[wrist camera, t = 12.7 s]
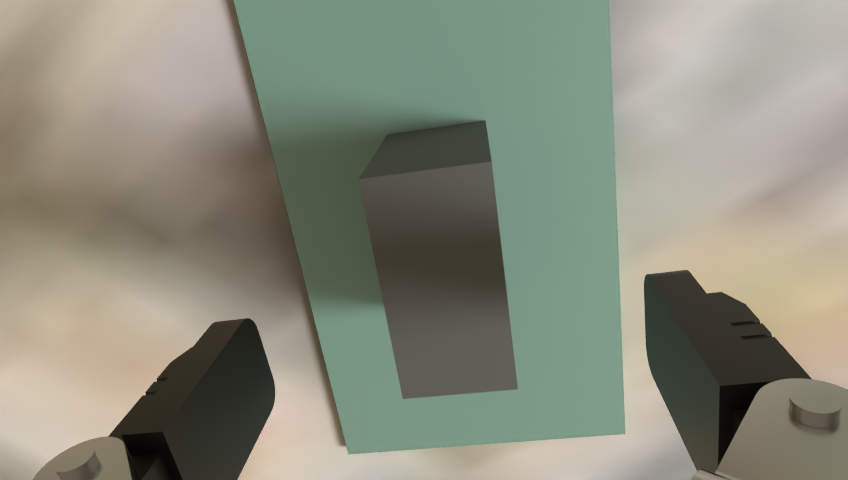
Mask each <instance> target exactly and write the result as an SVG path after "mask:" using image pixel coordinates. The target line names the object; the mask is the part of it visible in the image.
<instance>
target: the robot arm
mask: <svg viewBox="0 0 848 480" xmlns="http://www.w3.org/2000/svg"><path fill="white" fill-rule="evenodd" d="M644 300H645V330H646V350H647V357H648V362H649V366H650V370H651V373H652V376H653V378H654V380H655V382H656V385H657V387H658V389H659V391H660V393H661V395H662V397H663V399H664V402H665V404H666V406H667V408H668V410H669V412H670V414H671V416H672V419H673V421H674V423H675V425H676V427H677V429H678V431H679V433H680V436H681V438H682V440H683V442H684V444H685V446H686V448H687V450H688V453H689V455H690V457H691V459H692V461H693V463H694V465H695V467H696V470H697V472H696V473H695V474H694V476H693V477H692V479H691V480H848V390H847V389H845V388H842V387H840V386H837V385H834V384H831V383H827V382H823V381H818V380H812V379H811V378H810V376H809V375H808V374H807V373H806V372H805V371H804V370H803V369H802V367H801V366H800V365H799V364H798V363H797V362H796V361H795V360H794V358H793V357H792V356H791V355H790V354H789V353H788V352H787V351H786V349H785V348H784V347H783V346H782V345H781V344H780V343H779V342H778V340H777V339H776V338H775V337H772V335H771V333H770V331H769V330H768V329H767V328H766V327H765V326H764V325H763V324H760V320H759V319H758V318H757V317H756V316H755V315H754V313H753V312H752V311H751V310H750V309H749V308H748V307H747V306H746V304H744V303H742V302H740V301H738V300H736V299H734V298H732V297H730V296H728V295H726V294H724V293H722V292H717V293H708V294H707V293H706V292H705V291H704V290H703V288H702V287H701V286H700V285H699V283H698V282H697V281H696V279H695V278H694V277H693V276H692V274H691V273H690V272H689V271H688V270H682V271H674V272H665V273H656V274H647V275H646V276H645V280H644ZM274 400H275V385H274V380H273V376H272V373H271V370H270V367H269V364H268V360H267V357H266V354H265V351H264V348H263V345H262V341H261V338H260V335H259V332H258V329H257V326H256V324H255V323H254V321H253V320H251V319H249V318H247V319H238V320H229V321H220V322H214V323H213V324H212V325H211V326H210V327H209V328H208V329H207V330H206V332H205V333H204V334H203V335H202V337H201V338H200V339H199V340H198V342H197V343H196V344H195V345H194V346H193V347H192V348H190V349H189V350H187V351H186V352H185V353H183V354H182V355H180V356H179V357H178V358H176V359H175V360H173V361H172V362H171V363H170V364H169V365H168V366H167V367H166V369H165V370H164V371H163V372H162V373H161V375H160V376H159V377H158V378H157V382H154V383H153V384H152V385H151V386H150V388H149V389H148V390H147V391H146V395H145V396H142V397H141V398H140V399H139V401H138V402H137V403H136V404H135V405H134V407H133V408H132V409H131V410H130V411H129V412H128V414H127V415H126V416H125V417H124V418H123V420H122V421H121V422H120V423H119V424H118V425H117V427H116V428H115V429H114V430H113V431H112V433H111V434H110V435H109V436H108V437H99V438H95V439H91V440H88V441H85V442H82V443H80V444H77V445H75V446H73V447H71V448H69V449H67V450H65V451H64V452H62V453H60V454H59V455H57V456H56V457H54V458H53V459H52V460H51V461H49V462H48V463H47V464H46V465H45V466H44V467H43V468H41V470H40V471H39V472H38V473H37V474H36V476H35V477H34V479H33V480H237V479H238V477H239V475H240V473H241V471H242V469H243V467H244V465H245V463H246V461H247V459H248V457H249V455H250V453H251V451H252V449H253V447H254V445H255V443H256V441H257V439H258V437H259V435H260V433H261V431H262V429H263V427H264V425H265V423H266V421H267V419H268V417H269V415H270V413H271V411H272V409H273V405H274Z"/></svg>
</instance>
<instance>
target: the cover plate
mask: <svg viewBox="0 0 848 480" xmlns="http://www.w3.org/2000/svg"><path fill="white" fill-rule="evenodd" d="M233 1H234V5H235V9H236V13H237V17H238V21H239V25H240V29H241V32H242V36H243V40H244V44H245V48H246V52H247V56H248V60H249V64H250V68H251V72H252V76H253V80H254V84H255V88H256V92H257V96H258V100H259V103H260V107H261V111H262V115H263V119H264V123H265V127H266V131H267V135H268V139H269V143H270V147H271V151H272V155H273V159H274V163H275V167H276V171H277V174H278V178H279V182H280V186H281V190H282V194H283V198H284V202H285V206H286V210H287V214H288V218H289V222H290V226H291V230H292V234H293V238H294V242H295V245H296V249H297V253H298V257H299V261H300V265H301V269H302V273H303V277H304V281H305V285H306V289H307V293H308V297H309V301H310V305H311V309H312V313H313V316H314V320H315V324H316V328H317V332H318V336H319V340H320V344H321V348H322V352H323V356H324V360H325V364H326V368H327V372H328V376H329V380H330V384H331V388H332V391H333V395H334V399H335V403H336V407H337V411H338V415H339V419H340V423H341V427H342V431H343V435H344V439H345V443H346V447H347V451H348V454H358V453H372V452H385V451H399V450H413V449H426V448H440V447H453V446H467V445H481V444H494V443H508V442H521V441H535V440H549V439H562V438H576V437H589V436H603V435H617V434H625V415H624V389H623V362H622V335H621V309H620V282H619V255H618V229H617V202H616V175H615V148H614V122H613V95H612V68H611V42H610V15H609V0H233Z"/></svg>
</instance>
